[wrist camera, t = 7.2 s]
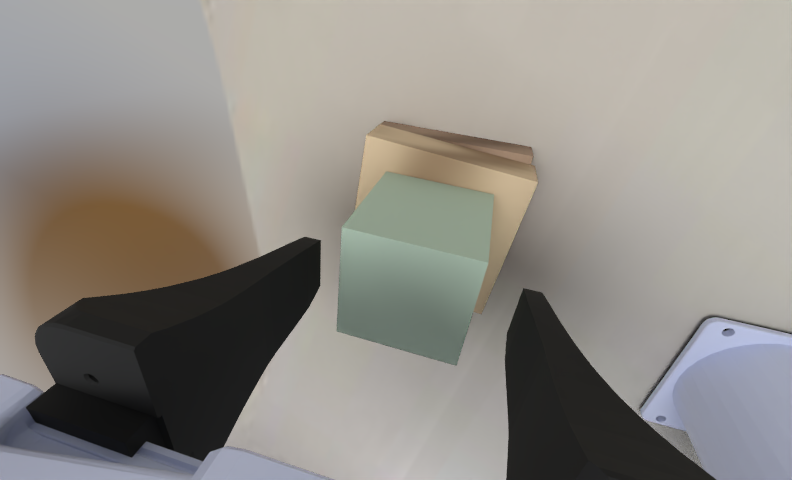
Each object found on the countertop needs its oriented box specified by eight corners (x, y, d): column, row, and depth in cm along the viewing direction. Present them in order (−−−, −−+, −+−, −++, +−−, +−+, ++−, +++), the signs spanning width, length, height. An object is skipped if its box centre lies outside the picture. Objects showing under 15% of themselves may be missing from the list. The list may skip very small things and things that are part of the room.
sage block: (493, 194, 15) (488, 262, 11) (468, 282, 17) (456, 365, 13) (386, 171, 16) (341, 226, 11) (376, 258, 18) (336, 331, 14)
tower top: (534, 165, 16) (538, 182, 14) (483, 289, 20) (481, 314, 18) (380, 124, 17) (366, 134, 15) (358, 250, 21) (345, 270, 19)
